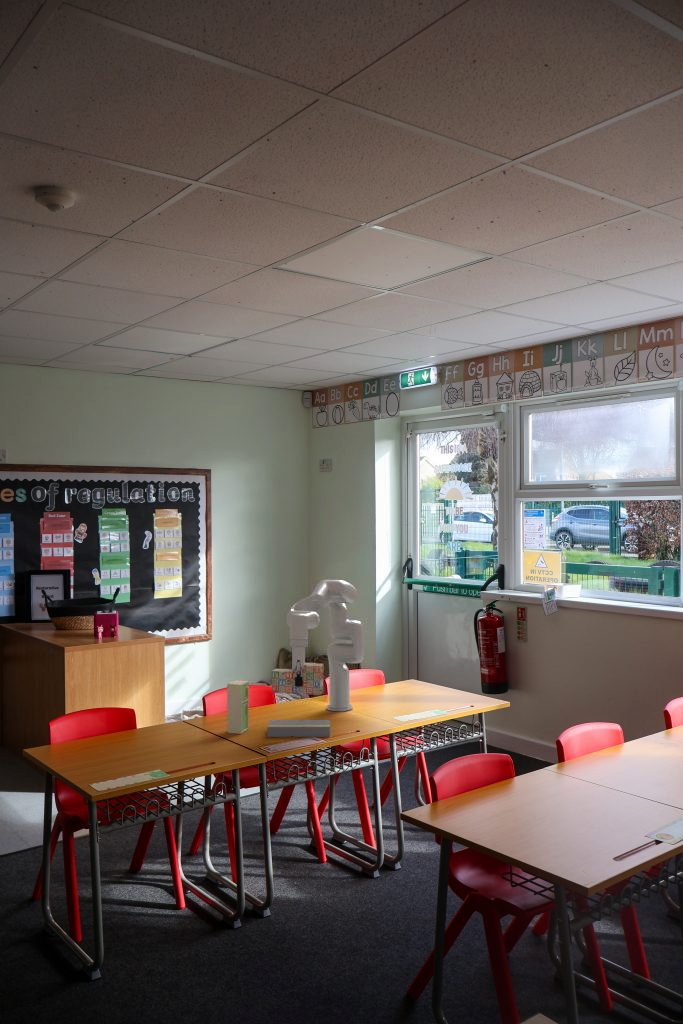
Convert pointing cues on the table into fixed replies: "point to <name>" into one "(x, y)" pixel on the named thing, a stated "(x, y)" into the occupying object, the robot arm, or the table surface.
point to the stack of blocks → (311, 680)
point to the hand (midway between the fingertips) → (299, 684)
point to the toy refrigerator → (237, 706)
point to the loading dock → (298, 728)
